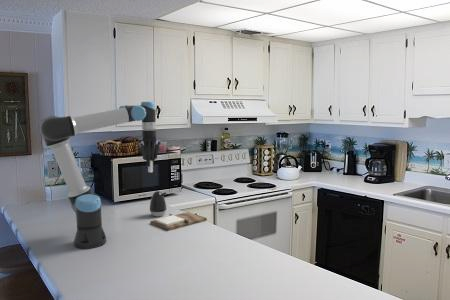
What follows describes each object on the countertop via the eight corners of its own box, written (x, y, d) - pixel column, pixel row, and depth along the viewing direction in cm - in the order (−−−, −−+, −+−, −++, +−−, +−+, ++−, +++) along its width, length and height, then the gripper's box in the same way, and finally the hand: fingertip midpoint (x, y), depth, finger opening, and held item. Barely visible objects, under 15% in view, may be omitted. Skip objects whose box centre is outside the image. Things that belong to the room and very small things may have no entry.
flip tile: (184, 219, 224) (184, 221, 224) (172, 215, 233) (172, 217, 233) (167, 224, 216) (167, 226, 216) (155, 219, 225) (155, 221, 225)
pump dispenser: (165, 217, 238) (164, 193, 236) (148, 217, 238) (147, 193, 236) (168, 213, 248) (167, 189, 246) (151, 213, 248) (150, 189, 246)
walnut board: (168, 230, 213) (167, 225, 213) (150, 223, 226) (150, 218, 226) (206, 220, 231) (206, 215, 231) (188, 214, 244) (188, 209, 244)
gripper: (142, 130, 210) (143, 174, 213) (162, 129, 219) (164, 171, 222) (135, 130, 216) (136, 172, 219) (155, 128, 224) (156, 169, 227)
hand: (150, 172), depth 220 cm, fingers closed
